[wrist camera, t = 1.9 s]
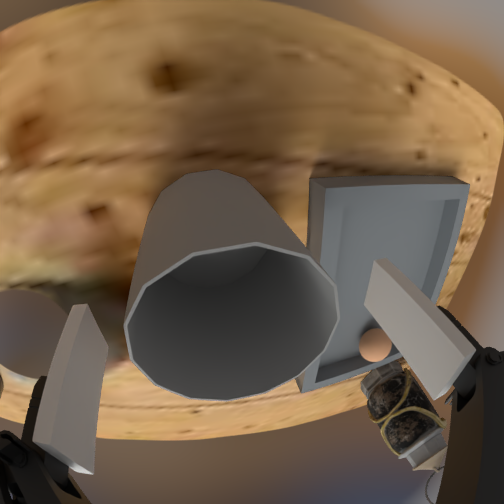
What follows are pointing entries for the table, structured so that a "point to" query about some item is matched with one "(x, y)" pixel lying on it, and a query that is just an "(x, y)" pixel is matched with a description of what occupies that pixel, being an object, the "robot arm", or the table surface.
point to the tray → (377, 251)
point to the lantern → (405, 417)
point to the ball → (375, 345)
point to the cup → (225, 293)
